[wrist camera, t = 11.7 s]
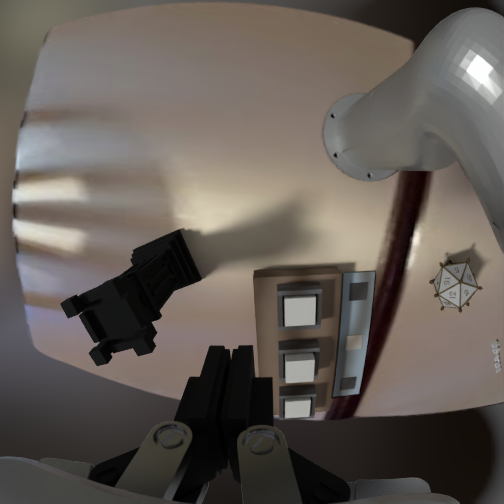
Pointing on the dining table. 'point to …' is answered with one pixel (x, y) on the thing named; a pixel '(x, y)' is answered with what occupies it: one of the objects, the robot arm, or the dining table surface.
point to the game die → (455, 285)
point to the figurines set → (496, 355)
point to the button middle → (299, 367)
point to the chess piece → (134, 298)
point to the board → (314, 332)
